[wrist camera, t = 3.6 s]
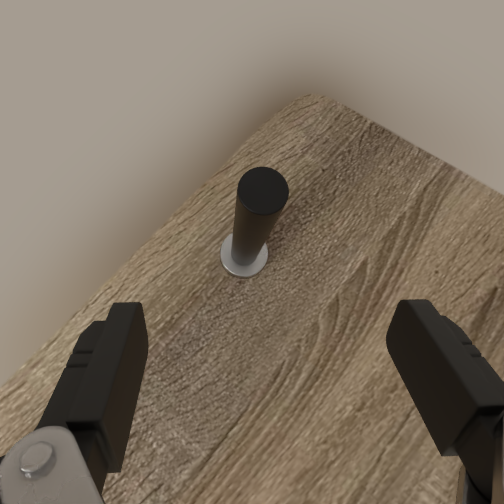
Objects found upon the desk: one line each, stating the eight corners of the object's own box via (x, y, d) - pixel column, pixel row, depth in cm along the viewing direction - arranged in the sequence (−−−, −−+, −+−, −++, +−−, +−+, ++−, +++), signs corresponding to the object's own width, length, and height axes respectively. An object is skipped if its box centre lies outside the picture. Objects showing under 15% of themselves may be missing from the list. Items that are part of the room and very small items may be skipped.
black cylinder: (211, 264, 26) (198, 205, 13) (234, 226, 27) (245, 131, 13) (252, 287, 26) (282, 252, 12) (273, 248, 27) (325, 174, 13)
